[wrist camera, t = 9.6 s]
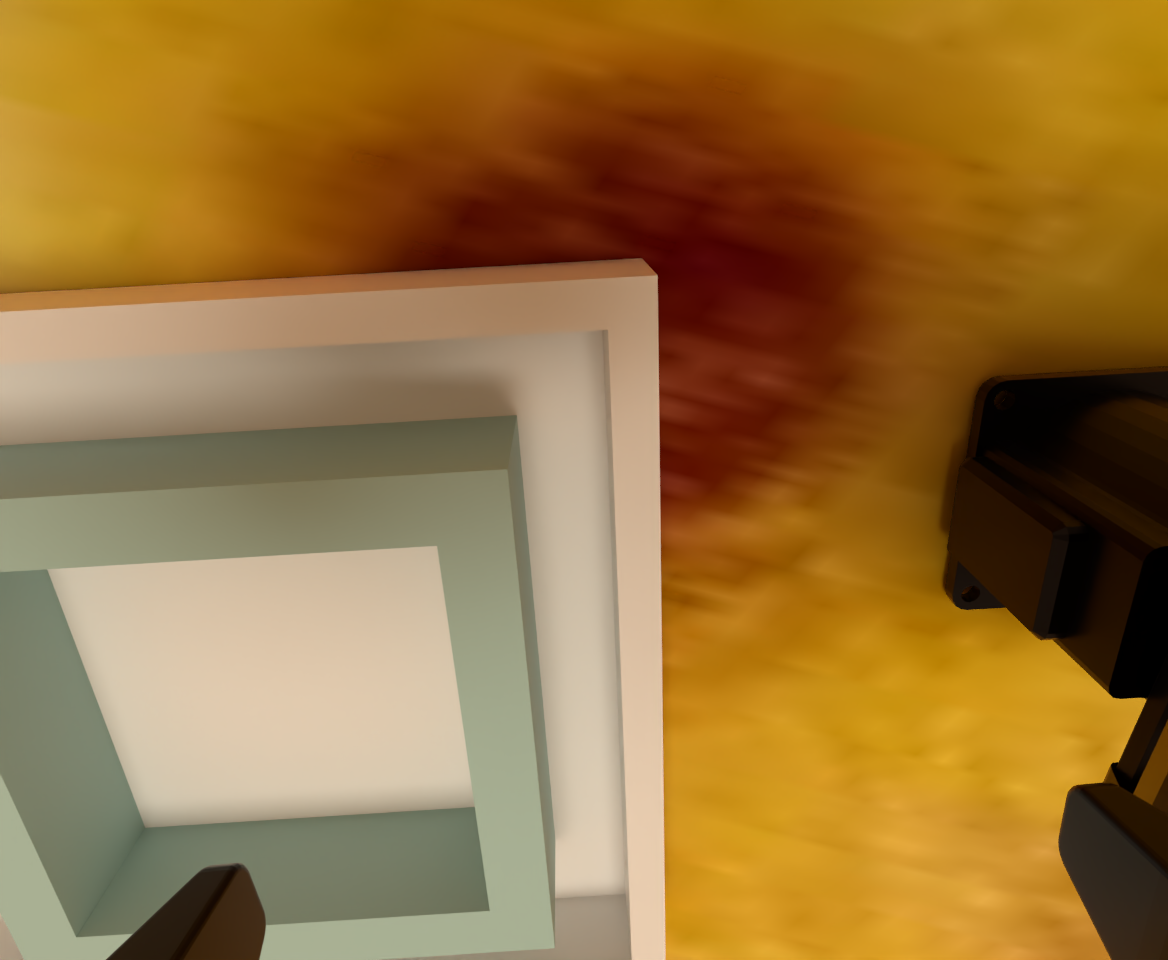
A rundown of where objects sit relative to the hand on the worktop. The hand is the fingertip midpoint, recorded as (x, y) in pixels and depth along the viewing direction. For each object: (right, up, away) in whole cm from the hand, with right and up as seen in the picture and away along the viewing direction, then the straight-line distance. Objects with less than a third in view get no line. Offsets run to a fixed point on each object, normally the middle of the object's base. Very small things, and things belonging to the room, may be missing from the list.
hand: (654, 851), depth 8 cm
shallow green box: (-9, -1, +12) cm, 15 cm away
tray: (-9, -1, +13) cm, 16 cm away
